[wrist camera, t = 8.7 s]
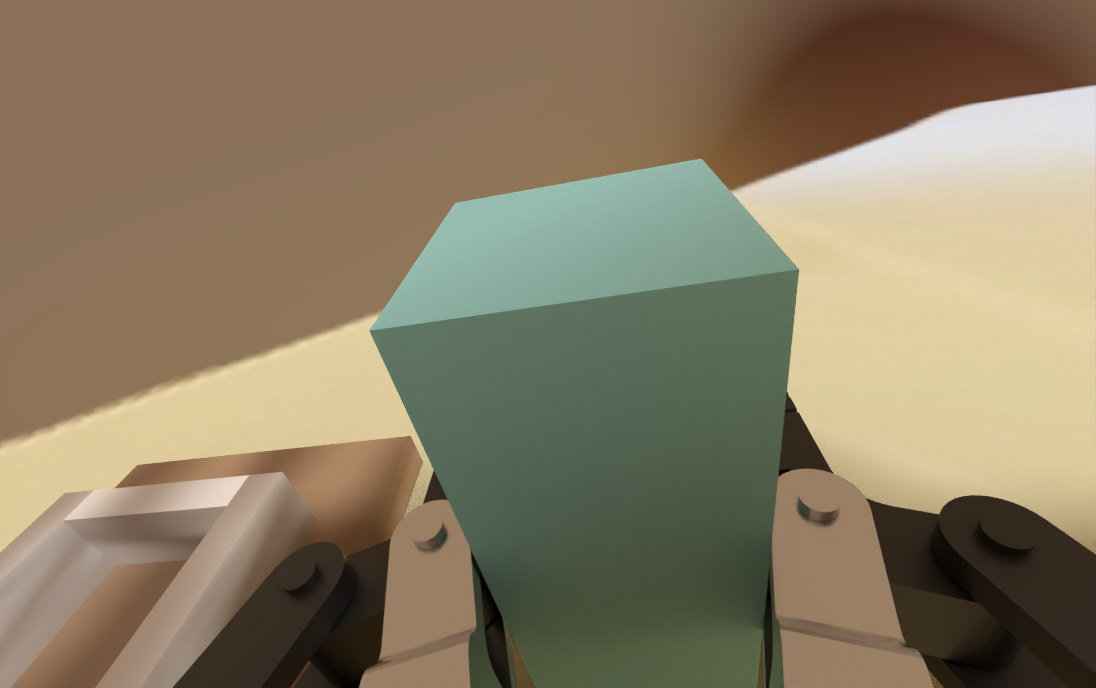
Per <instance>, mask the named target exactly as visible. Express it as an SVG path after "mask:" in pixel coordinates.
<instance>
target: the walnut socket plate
mask: <svg viewBox="0 0 1096 688" xmlns="http://www.w3.org/2000/svg"><path fill="white" fill-rule="evenodd" d="M422 462H423V461H422V459H421V457H420V455H419V453H418V451H417V448H416V446H415V444H414V442H413V440H412V438H411V436H407V437H397V438H388V439H378V440H369V441H360V442H350V443H341V444H331V445H322V446H313V447H303V448H294V449H284V450H275V451H265V452H256V453H247V454H237V455H228V456H218V457H209V458H200V459H190V460H181V461H171V462H162V463H152V464H143V465H137V466H136V467H135V468H134V469H133V470H132V471H131V472H130V473H129V474H128V475H127V476H126V477H125V478H124V479H123V480H122V481H121V482H120V483H119V484H118V485H117V486H116V487H115V488H114V489H104V490H93V491H83V492H73V493H64V494H63V495H62V496H61V497H60V498H59V499H58V500H57V501H56V502H55V503H54V504H53V505H51V506H50V507H49V508H48V509H47V510H46V511H45V512H44V513H43V514H42V515H41V516H40V517H38V518H37V519H36V520H35V521H34V522H33V523H32V524H31V525H30V526H29V527H28V528H27V529H25V530H24V531H23V532H22V533H21V534H20V535H19V536H18V537H17V538H16V539H15V540H14V541H12V542H11V543H10V544H9V545H8V546H7V547H6V548H5V549H4V550H3V551H2V552H0V688H173V686H174V685H175V684H176V683H177V682H178V681H179V679H180V678H181V677H182V676H183V675H184V674H185V672H186V671H187V670H188V669H189V668H190V667H191V665H192V664H193V663H194V662H195V661H196V660H197V658H198V657H199V656H200V655H201V654H202V653H203V651H204V650H205V649H206V648H207V647H208V646H209V645H210V643H211V642H212V641H213V640H214V639H215V638H216V636H217V635H218V634H219V633H220V632H221V631H222V629H223V628H224V627H225V626H226V625H227V624H228V622H229V621H230V620H231V619H232V618H233V617H234V615H235V614H236V613H237V612H238V611H239V610H240V608H241V607H242V606H243V605H244V604H245V603H246V601H247V600H248V599H249V598H250V597H251V596H252V594H253V593H254V592H255V591H256V590H257V589H258V587H259V586H260V585H261V584H262V583H263V582H264V580H265V579H266V578H267V577H268V576H269V575H270V573H271V572H272V571H273V570H274V569H275V568H276V567H277V566H278V565H279V563H280V562H282V561H283V560H284V559H285V558H286V557H288V556H289V555H290V554H292V553H293V552H295V551H296V550H298V549H300V548H302V547H304V546H306V545H309V544H313V543H317V542H329V543H333V544H335V545H337V546H338V547H339V548H340V549H341V551H342V552H343V554H344V555H345V556H348V555H350V554H353V553H356V552H358V551H361V550H364V549H366V548H369V547H372V546H374V545H377V544H380V543H382V542H384V541H387V540H389V539H391V537H392V535H393V532H394V530H395V528H396V526H397V525H398V524H399V522H400V521H401V520H402V519H403V516H404V513H405V510H406V507H407V505H408V502H409V499H410V496H411V493H412V490H413V488H414V485H415V482H416V479H417V476H418V474H419V471H420V468H421V465H422ZM310 663H311V662H310V661H308V663H307V664H306V666H305V667H304V668H303V670H302V671H301V673H300V674H299V676H298V677H297V679H296V680H295V681H294V683H293V684H292V686H291V687H290V688H293V687H294V686H295V684H296V683H297V681H298V680H299V679H300V677H301V676H302V674H303V673H304V671H305V670H306V668H307V667H308V665H309V664H310Z"/></svg>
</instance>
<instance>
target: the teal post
mask: <svg viewBox="0 0 1096 688" xmlns="http://www.w3.org/2000/svg"><path fill="white" fill-rule="evenodd" d="M798 274H799V269H798V268H797V267H796V265H795V264H794V263H793V262H792V261H791V260H790V259H789V257H788V256H787V255H786V254H785V253H784V252H783V251H782V250H781V248H780V247H779V246H778V245H777V244H776V243H775V242H774V240H773V239H772V238H771V237H770V236H769V235H768V234H767V233H766V231H765V230H764V229H763V228H762V227H761V226H760V225H759V223H758V222H757V221H756V220H755V219H754V218H753V217H752V216H751V214H750V213H749V212H748V211H747V210H746V209H745V208H744V206H743V205H742V204H741V203H740V202H739V201H738V200H737V199H736V197H735V196H734V195H733V194H732V193H731V192H730V191H729V189H728V188H727V187H726V186H725V185H724V184H723V183H722V182H721V181H720V179H719V178H718V177H717V176H716V175H715V174H714V173H713V171H712V170H711V169H710V168H709V167H708V166H707V165H706V163H705V162H704V161H703V160H702V159H697V160H692V161H686V162H680V163H675V164H670V165H664V166H658V167H653V168H647V169H641V170H636V171H631V172H625V173H620V174H614V175H608V176H603V177H597V178H591V179H586V180H581V181H575V182H569V183H564V184H559V185H553V186H547V187H542V188H536V189H530V190H525V191H519V192H514V193H508V194H503V195H497V196H492V197H486V198H481V199H475V200H469V201H464V202H459V203H455V204H454V206H453V207H452V209H451V210H450V212H449V213H448V215H447V216H446V218H445V219H444V221H443V222H442V224H441V225H440V227H439V228H438V230H437V231H436V232H435V234H434V236H433V237H432V239H431V240H430V241H429V243H428V244H427V246H426V248H425V249H424V250H423V252H422V253H421V255H420V256H419V258H418V259H417V261H416V262H415V264H414V265H413V267H412V268H411V270H410V271H409V273H408V274H407V276H406V277H405V279H404V280H403V282H402V283H401V285H400V286H399V288H398V289H397V291H396V292H395V294H394V295H393V296H392V298H391V300H390V301H389V303H388V304H387V305H386V307H385V308H384V310H383V311H382V313H381V314H380V316H379V317H378V319H377V320H376V322H375V323H374V325H373V326H372V328H371V329H370V333H371V335H372V337H373V339H374V342H375V344H376V346H377V348H378V350H379V352H380V354H381V357H382V359H383V361H384V363H385V365H386V367H387V370H388V372H389V374H390V376H391V378H392V380H393V383H394V385H395V387H396V389H397V391H398V393H399V395H400V398H401V400H402V402H403V404H404V406H405V408H406V411H407V413H408V415H409V417H410V419H411V421H412V424H413V426H414V428H415V430H416V432H417V434H418V437H419V439H420V441H421V443H422V445H423V447H424V449H425V452H426V454H427V456H428V458H429V460H430V462H431V465H432V467H433V469H434V471H435V473H436V475H437V478H438V480H439V482H440V484H441V486H442V488H443V490H444V493H445V495H446V497H447V499H448V501H449V503H450V506H451V508H452V510H453V512H454V514H455V516H456V519H457V521H458V523H459V525H460V527H461V529H462V531H463V534H464V536H465V538H466V540H467V542H468V544H469V547H470V549H471V551H472V553H473V555H474V557H475V560H476V562H477V564H478V566H479V568H480V570H481V572H482V575H483V577H484V579H485V581H486V583H487V585H488V588H489V590H490V592H491V594H492V596H493V598H494V601H495V603H496V605H497V607H498V609H499V611H500V613H501V616H502V618H503V620H504V622H505V624H506V626H507V629H508V631H509V633H510V635H511V637H512V639H513V642H514V644H515V646H516V648H517V650H518V652H519V655H520V657H521V659H522V661H523V663H524V665H525V667H526V670H527V672H528V674H529V676H530V678H531V680H532V683H533V685H534V687H535V688H757V685H758V675H759V665H760V655H761V645H762V624H763V615H765V605H766V595H767V585H768V575H769V552H770V542H771V536H772V535H773V524H774V514H775V504H776V494H777V484H778V474H779V464H780V454H781V444H782V434H783V424H784V414H785V404H786V394H787V384H788V374H789V364H790V354H791V344H792V334H793V324H794V314H795V304H796V294H797V284H798Z"/></svg>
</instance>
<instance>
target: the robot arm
mask: <svg viewBox="0 0 1096 688" xmlns="http://www.w3.org/2000/svg"><path fill="white" fill-rule="evenodd" d="M762 649H763V679H764V688H933V684H932V681H931V677H930V674H929V672H928V670H929V671H930V672H931V673H932V674H933V676H934V677H935V678H936V679H937V680H938V681H939V682H940V683H941V685H942V686H943V687H944V688H1096V555H1095V554H1094V553H1093V552H1091V551H1090V550H1088V549H1087V548H1085V547H1084V546H1083V545H1081V544H1080V543H1078V542H1077V541H1075V540H1074V539H1073V538H1071V537H1070V536H1068V535H1067V534H1066V533H1064V532H1063V531H1061V530H1060V529H1058V528H1057V527H1056V526H1054V525H1053V524H1051V523H1050V522H1048V521H1047V520H1046V519H1044V518H1042V517H1041V516H1039V515H1038V514H1036V513H1034V512H1032V511H1030V510H1028V509H1027V508H1025V507H1022V506H1020V505H1017V504H1015V503H1012V502H1009V501H1006V500H1003V499H999V498H994V497H989V496H974V495H970V496H963V497H959V498H956V499H953V500H951V501H949V502H948V503H947V504H946V505H945V506H944V507H943V508H942V510H941V512H940V514H933V513H927V512H922V511H916V510H910V509H905V508H899V507H893V506H889V505H884V504H881V503H878V502H875V501H872V500H870V499H867V498H865V496H864V495H863V494H862V493H861V492H860V491H859V490H858V489H857V488H856V487H855V486H854V485H853V484H851V483H850V482H848V481H847V480H845V479H843V478H841V477H840V476H837V475H835V474H833V472H832V471H831V469H830V468H829V466H828V464H827V462H826V460H825V459H824V457H823V455H822V453H821V451H820V450H819V448H818V446H817V444H816V443H815V441H814V439H813V437H812V435H811V434H810V432H809V430H808V428H807V426H806V425H805V423H804V421H803V419H802V417H801V416H800V414H799V412H798V413H797V409H796V407H795V405H794V403H793V401H792V400H791V398H790V397H789V396H788V392H787V394H786V404H785V414H784V424H783V434H782V444H781V454H780V464H779V474H778V484H777V494H776V504H775V514H774V524H773V535H772V536H771V542H770V552H769V575H768V585H767V595H766V605H765V615H763V624H762ZM308 661H310V662H311V663H310V664H309V665H308V667H307V668H306V670H305V671H304V673H303V674H302V676H301V677H300V679H299V680H298V681H297V683H296V684H295V686H294V687H293V688H517V685H516V678H515V670H514V663H513V656H512V648H511V641H510V634H509V631H508V629H507V626H506V624H505V622H504V620H503V618H502V616H501V613H500V611H499V609H498V607H497V605H496V603H495V601H494V598H493V596H492V594H491V592H490V590H489V588H488V585H487V583H486V581H485V579H484V577H483V575H482V572H481V570H480V568H479V566H478V564H477V562H476V560H475V557H474V555H473V553H472V551H471V549H470V547H469V544H468V542H467V540H466V538H465V536H464V534H463V531H462V529H461V527H460V525H459V523H458V521H457V519H456V516H455V514H454V512H453V510H452V508H451V506H450V503H449V501H448V499H447V497H446V495H445V493H444V490H443V488H442V486H441V484H440V482H439V480H438V478H437V475H436V473H435V471H434V472H433V475H432V478H431V481H430V484H429V487H428V490H427V493H426V497H425V500H424V503H423V504H422V505H420V506H418V507H416V508H415V509H413V510H412V511H410V512H409V513H408V514H407V515H406V516H405V517H404V518H403V519H402V520H401V521H400V522H399V524H398V525H397V526H396V528H395V530H394V532H393V535H392V537H391V539H389V540H387V541H384V542H382V543H380V544H377V545H374V546H372V547H369V548H366V549H364V550H361V551H358V552H356V553H353V554H350V555H348V556H345V555H344V554H343V552H342V551H341V549H340V548H339V547H338V546H337V545H335V544H333V543H329V542H317V543H313V544H309V545H306V546H304V547H302V548H300V549H298V550H296V551H295V552H293V553H292V554H290V555H289V556H288V557H286V558H285V559H284V560H283V561H282V562H280V563H279V565H278V566H277V567H276V568H275V569H274V570H273V571H272V572H271V573H270V575H269V576H268V577H267V578H266V579H265V580H264V582H263V583H262V584H261V585H260V586H259V587H258V589H257V590H256V591H255V592H254V593H253V594H252V596H251V597H250V598H249V599H248V600H247V601H246V603H245V604H244V605H243V606H242V607H241V608H240V610H239V611H238V612H237V613H236V614H235V615H234V617H233V618H232V619H231V620H230V621H229V622H228V624H227V625H226V626H225V627H224V628H223V629H222V631H221V632H220V633H219V634H218V635H217V636H216V638H215V639H214V640H213V641H212V642H211V643H210V645H209V646H208V647H207V648H206V649H205V650H204V651H203V653H202V654H201V655H200V656H199V657H198V658H197V660H196V661H195V662H194V663H193V664H192V665H191V667H190V668H189V669H188V670H187V671H186V672H185V674H184V675H183V676H182V677H181V678H180V679H179V681H178V682H177V683H176V684H175V685H174V686H173V688H290V687H291V686H292V684H293V683H294V681H295V680H296V679H297V677H298V676H299V674H300V673H301V671H302V670H303V668H304V667H305V666H306V664H307V663H308Z"/></svg>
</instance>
